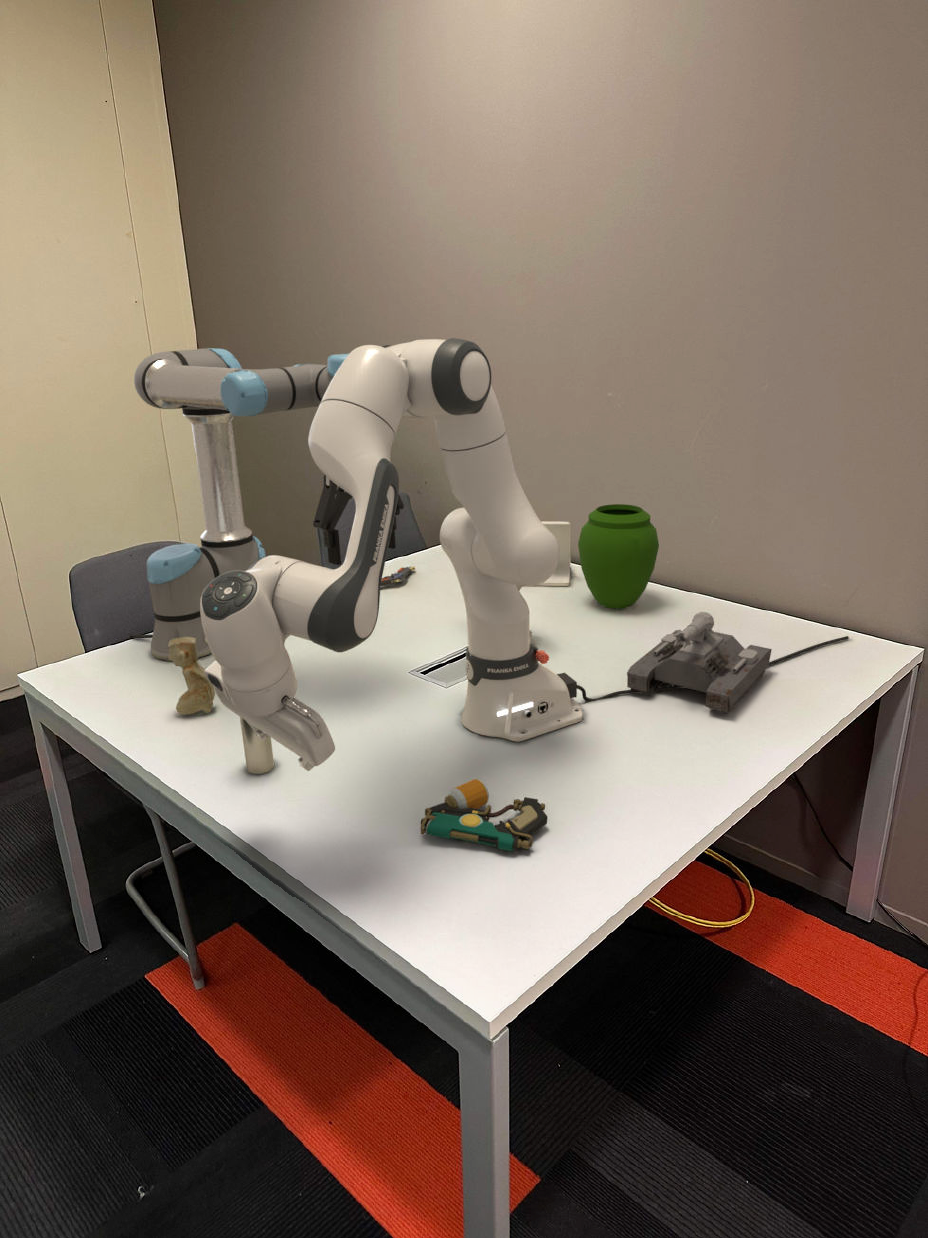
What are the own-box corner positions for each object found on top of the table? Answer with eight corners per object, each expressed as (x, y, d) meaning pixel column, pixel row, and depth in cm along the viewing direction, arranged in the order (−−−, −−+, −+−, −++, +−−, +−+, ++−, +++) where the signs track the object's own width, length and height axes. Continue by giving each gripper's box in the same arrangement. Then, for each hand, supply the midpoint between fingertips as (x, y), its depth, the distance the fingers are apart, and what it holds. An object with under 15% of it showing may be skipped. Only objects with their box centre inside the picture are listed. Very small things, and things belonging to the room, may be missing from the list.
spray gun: (558, 822, 128) (509, 880, 116) (464, 786, 136) (409, 838, 124) (560, 798, 126) (510, 855, 114) (464, 764, 134) (409, 814, 122)
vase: (599, 587, 227) (601, 497, 218) (668, 600, 216) (673, 505, 208) (562, 608, 212) (564, 513, 204) (634, 623, 202) (639, 523, 193)
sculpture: (181, 705, 167) (169, 634, 162) (218, 702, 168) (208, 632, 162) (175, 719, 162) (163, 646, 156) (213, 716, 162) (203, 643, 157)
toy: (676, 651, 185) (680, 585, 180) (769, 671, 174) (777, 602, 169) (625, 694, 166) (628, 622, 161) (726, 720, 155) (733, 643, 150)
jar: (263, 757, 147) (251, 663, 141) (279, 766, 145) (268, 670, 138) (241, 768, 144) (228, 672, 138) (257, 777, 141) (244, 679, 135)
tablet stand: (569, 585, 229) (570, 524, 223) (476, 584, 232) (475, 523, 226) (570, 566, 246) (571, 508, 240) (484, 564, 249) (483, 507, 243)
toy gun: (363, 582, 229) (398, 578, 227) (382, 566, 247) (415, 563, 245) (364, 591, 230) (400, 588, 228) (383, 575, 248) (417, 572, 246)
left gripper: (312, 454, 144) (323, 574, 152) (418, 435, 161) (423, 544, 169) (286, 450, 149) (297, 566, 157) (391, 432, 166) (397, 538, 173)
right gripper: (334, 701, 108) (353, 769, 117) (231, 639, 118) (257, 706, 127) (297, 733, 104) (320, 800, 113) (195, 666, 115) (224, 733, 124)
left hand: (363, 555), depth 163 cm, fingers open, 13 cm apart
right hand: (286, 750), depth 121 cm, fingers open, 8 cm apart
